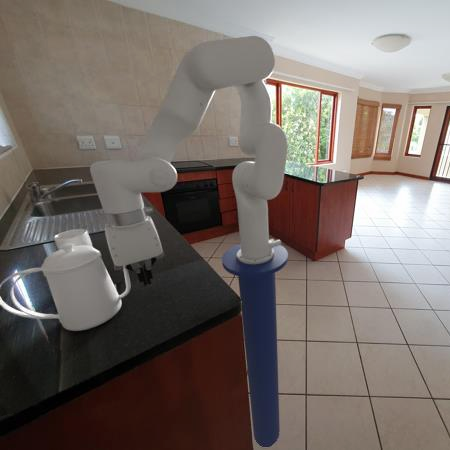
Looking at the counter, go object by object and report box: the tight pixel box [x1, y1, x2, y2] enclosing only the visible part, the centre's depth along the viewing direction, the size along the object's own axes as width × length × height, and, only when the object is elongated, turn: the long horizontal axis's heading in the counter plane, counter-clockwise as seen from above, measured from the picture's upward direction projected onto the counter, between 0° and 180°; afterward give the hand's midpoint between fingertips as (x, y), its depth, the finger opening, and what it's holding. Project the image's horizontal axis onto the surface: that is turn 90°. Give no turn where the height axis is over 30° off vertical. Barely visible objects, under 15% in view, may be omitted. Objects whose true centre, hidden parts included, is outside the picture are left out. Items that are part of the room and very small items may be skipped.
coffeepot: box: [0, 243, 132, 332], centre depth 53 cm, size 11×25×19 cm, turn 126°
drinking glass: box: [53, 228, 94, 251], centre depth 65 cm, size 7×7×15 cm
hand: (147, 282), depth 61 cm, fingers closed
